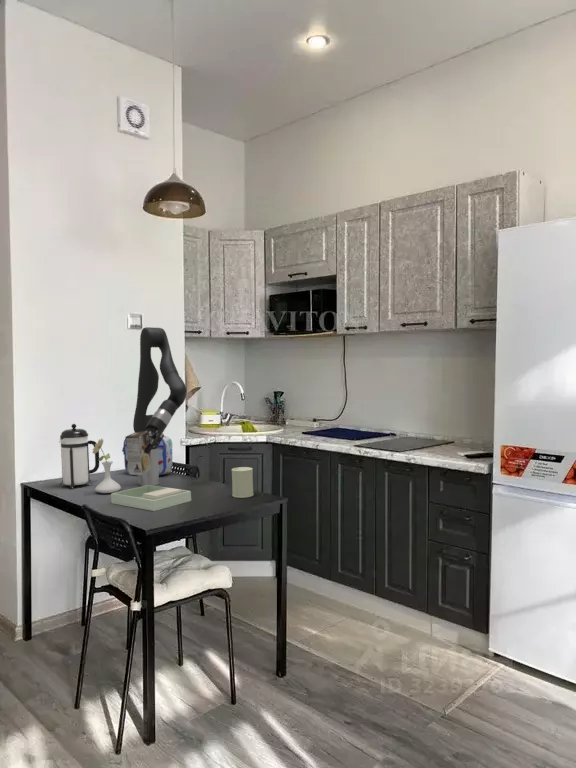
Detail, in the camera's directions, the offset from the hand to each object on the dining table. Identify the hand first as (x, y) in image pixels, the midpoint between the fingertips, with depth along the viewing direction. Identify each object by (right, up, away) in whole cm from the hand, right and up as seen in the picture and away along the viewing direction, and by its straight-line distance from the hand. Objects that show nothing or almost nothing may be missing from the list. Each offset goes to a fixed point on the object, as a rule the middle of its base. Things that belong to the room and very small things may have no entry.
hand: (139, 452), depth 260 cm
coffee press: (-39, -21, +41) cm, 61 cm away
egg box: (+11, -20, -7) cm, 24 cm away
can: (+42, -20, +10) cm, 48 cm away
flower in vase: (-20, -21, +23) cm, 37 cm away
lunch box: (-11, -19, +65) cm, 69 cm away
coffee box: (0, -8, 0) cm, 8 cm away
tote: (+6, -21, -2) cm, 22 cm away
